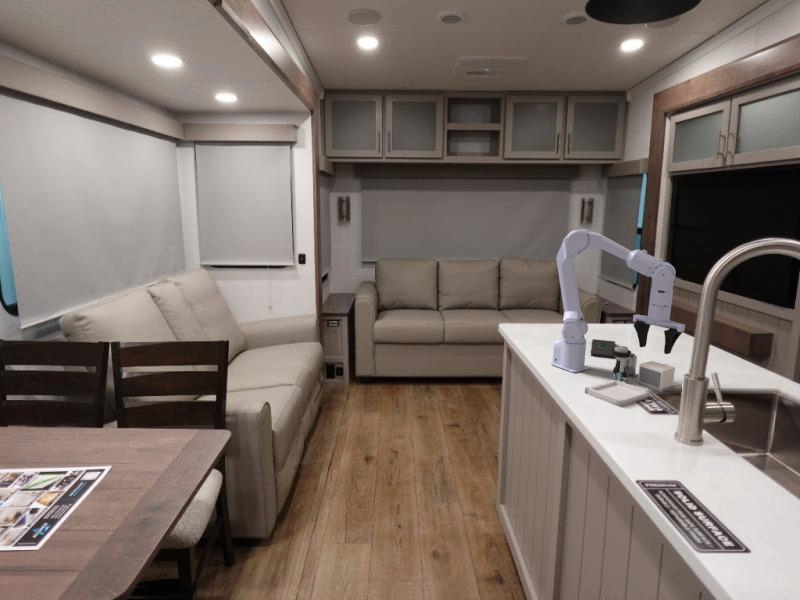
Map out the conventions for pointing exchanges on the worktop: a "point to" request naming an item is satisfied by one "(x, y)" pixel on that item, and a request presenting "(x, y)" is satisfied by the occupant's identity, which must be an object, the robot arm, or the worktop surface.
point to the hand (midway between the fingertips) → (654, 350)
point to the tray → (617, 392)
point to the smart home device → (602, 348)
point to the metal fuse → (630, 365)
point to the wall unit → (656, 376)
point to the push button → (620, 362)
